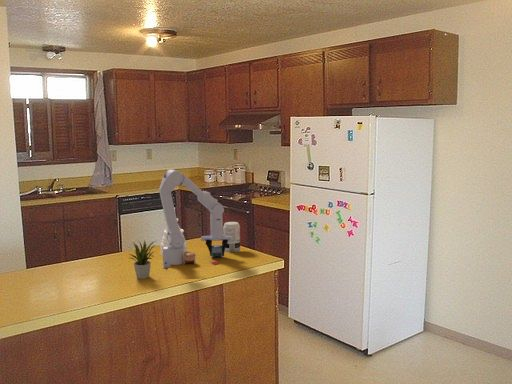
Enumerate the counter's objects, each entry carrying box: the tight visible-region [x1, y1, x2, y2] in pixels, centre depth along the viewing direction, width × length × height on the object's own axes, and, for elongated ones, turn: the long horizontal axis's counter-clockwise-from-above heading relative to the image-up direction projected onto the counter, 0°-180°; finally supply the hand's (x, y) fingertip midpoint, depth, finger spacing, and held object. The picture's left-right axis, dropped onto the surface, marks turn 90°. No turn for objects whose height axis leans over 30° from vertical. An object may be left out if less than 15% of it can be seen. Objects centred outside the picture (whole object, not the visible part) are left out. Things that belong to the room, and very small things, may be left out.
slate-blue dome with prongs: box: [211, 244, 223, 259], centre depth 232 cm, size 5×5×6 cm
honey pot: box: [160, 217, 188, 257], centre depth 244 cm, size 13×13×18 cm
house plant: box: [125, 240, 157, 280], centre depth 209 cm, size 14×14×16 cm
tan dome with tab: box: [183, 252, 197, 265], centre depth 223 cm, size 5×5×6 cm
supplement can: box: [223, 221, 241, 253], centre depth 245 cm, size 8×8×15 cm
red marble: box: [211, 259, 219, 265], centre depth 223 cm, size 3×3×3 cm
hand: (217, 255), depth 233 cm, fingers closed on slate-blue dome with prongs, 5 cm apart
